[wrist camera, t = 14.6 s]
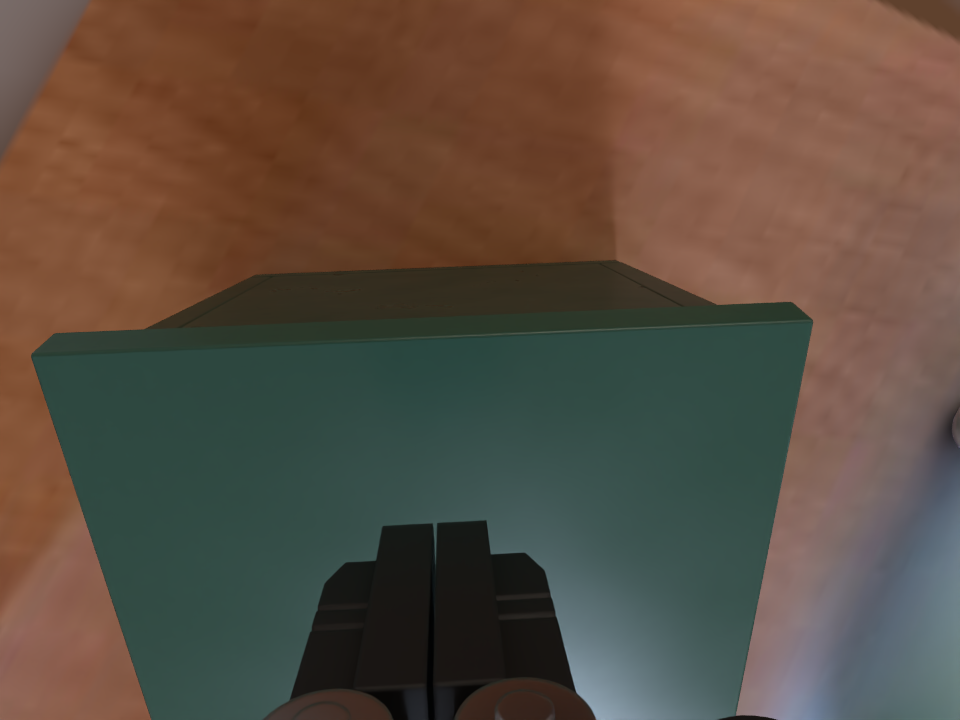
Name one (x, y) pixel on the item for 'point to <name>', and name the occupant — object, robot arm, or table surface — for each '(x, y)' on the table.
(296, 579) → the tin lid
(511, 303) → the tin
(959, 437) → the lightbulb
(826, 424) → the table surface
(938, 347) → the table surface
